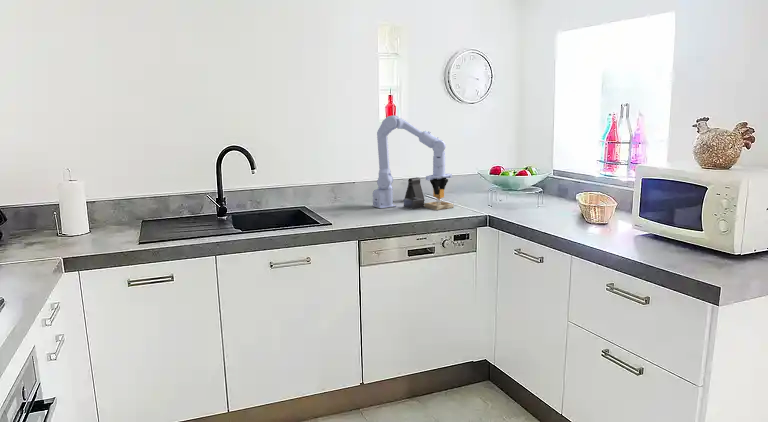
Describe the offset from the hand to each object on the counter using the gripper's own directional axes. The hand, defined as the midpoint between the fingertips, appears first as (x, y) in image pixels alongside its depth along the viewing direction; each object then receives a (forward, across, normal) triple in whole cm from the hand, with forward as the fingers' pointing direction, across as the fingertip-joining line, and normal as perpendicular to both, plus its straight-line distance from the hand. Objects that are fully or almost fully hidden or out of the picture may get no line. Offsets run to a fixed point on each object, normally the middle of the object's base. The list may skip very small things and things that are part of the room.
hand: (438, 194), depth 275 cm
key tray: (+7, 0, 0) cm, 7 cm away
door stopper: (+7, +2, +22) cm, 23 cm away
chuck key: (+6, 0, 0) cm, 6 cm away
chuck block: (+7, -9, +8) cm, 14 cm away
